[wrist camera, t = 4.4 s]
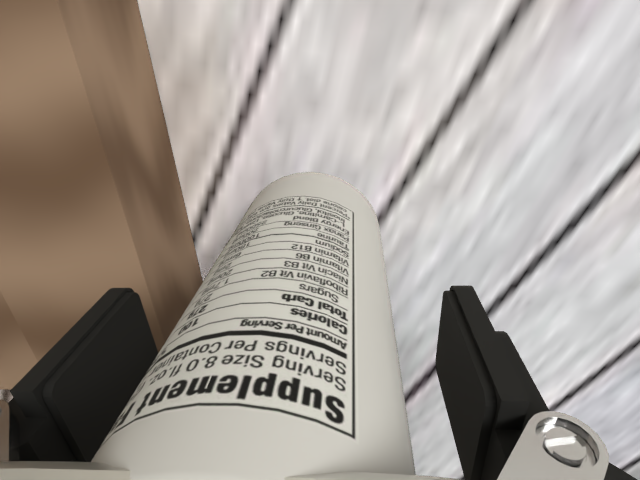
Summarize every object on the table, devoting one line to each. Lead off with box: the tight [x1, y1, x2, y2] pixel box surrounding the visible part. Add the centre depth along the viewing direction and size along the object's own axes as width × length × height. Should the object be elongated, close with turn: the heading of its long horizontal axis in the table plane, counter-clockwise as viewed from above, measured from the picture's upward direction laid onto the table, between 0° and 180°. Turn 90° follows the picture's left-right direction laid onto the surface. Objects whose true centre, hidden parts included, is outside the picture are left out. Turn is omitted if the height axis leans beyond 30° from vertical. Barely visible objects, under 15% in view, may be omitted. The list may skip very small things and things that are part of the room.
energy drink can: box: [91, 172, 416, 480], centre depth 11 cm, size 6×6×15 cm
